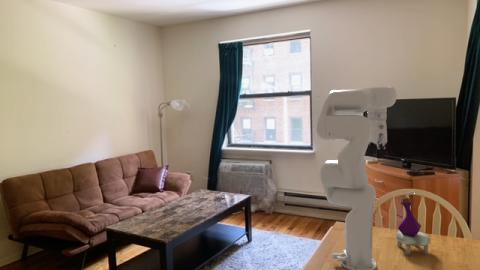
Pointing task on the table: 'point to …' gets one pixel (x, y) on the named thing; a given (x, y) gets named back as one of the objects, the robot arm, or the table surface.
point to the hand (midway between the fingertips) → (376, 156)
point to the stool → (413, 241)
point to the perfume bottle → (409, 219)
